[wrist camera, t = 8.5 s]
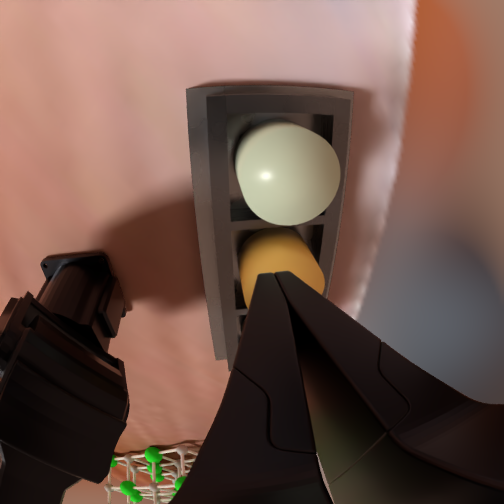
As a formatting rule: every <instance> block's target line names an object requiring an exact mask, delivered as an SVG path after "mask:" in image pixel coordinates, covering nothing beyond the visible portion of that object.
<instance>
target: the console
mask: <svg viewBox="0 0 504 504" xmlns="http://www.w3.org/2000/svg"><path fill="white" fill-rule="evenodd" d="M353 94H354V92H352V91H345V90H336V89H326V88H315V87H300V86H276V85H239V86H215V87H201V88H189V89H186V100H187V118H188V134H189V148H190V161H191V173H192V184H193V195H194V205H195V214H196V223H197V232H198V241H199V249H200V257H201V265H202V273H203V280H204V288H205V295H206V302H207V308H208V315H209V321H210V328H211V334H212V340H213V346H214V352H215V358H216V360H224V359H227V361H228V369H229V371H231V370H232V369H233V364H234V360H235V357H236V353H237V349H238V346H239V342H240V338H241V326H242V323H243V321H244V320H245V319H246V316H247V312H248V308H247V306H246V303H245V300H244V295H243V290H242V285H241V279H240V274H239V269H238V263H237V260H238V254H239V251H240V249H241V247H242V245H243V244H244V242H245V241H246V240H247V239H248V238H249V237H250V236H252V235H253V234H255V233H256V232H258V231H260V230H263V229H266V228H274V227H284V228H288V229H291V230H293V231H295V232H297V233H298V234H299V235H300V236H301V237H302V238H303V240H304V241H305V243H306V244H307V246H308V248H309V250H310V251H311V253H312V255H313V257H314V258H315V260H316V262H317V264H318V265H319V267H320V269H321V271H322V273H323V275H324V279H325V286H324V290H323V293H322V296H324V297H325V298H326V299H327V298H328V293H329V288H330V283H331V278H332V272H333V267H334V261H335V255H336V250H337V244H338V237H339V231H340V224H341V218H342V211H343V203H344V196H345V188H346V179H347V170H348V161H349V151H350V139H351V127H352V112H353ZM271 119H283V120H288V121H291V122H293V123H295V124H297V125H300V126H302V127H304V128H306V129H308V130H310V131H312V132H314V133H316V134H318V135H319V136H321V137H322V138H324V139H325V140H326V141H327V142H328V143H329V144H330V145H331V147H332V148H333V149H334V151H335V153H336V155H337V158H338V160H339V164H340V183H339V187H338V190H337V192H336V195H335V197H334V198H333V200H332V202H331V203H330V204H329V206H328V207H327V208H326V209H325V210H324V211H323V212H322V213H320V214H319V215H318V216H316V217H315V218H313V219H311V220H309V221H307V222H304V223H301V224H297V225H277V224H273V223H270V222H267V221H265V220H264V219H262V218H260V217H259V216H257V215H256V214H255V213H254V212H253V211H252V210H251V209H250V207H249V206H248V204H247V203H246V201H245V198H244V196H243V193H242V190H241V187H240V184H239V181H238V178H237V176H236V173H235V169H234V153H235V149H236V146H237V144H238V142H239V140H240V139H241V137H242V136H243V135H244V133H245V132H246V131H247V130H249V129H250V128H251V127H253V126H254V125H256V124H258V123H260V122H263V121H266V120H271Z"/></svg>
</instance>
